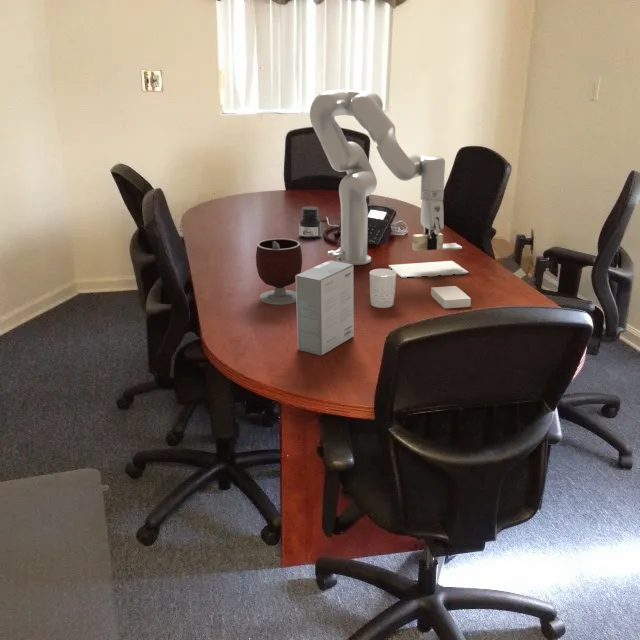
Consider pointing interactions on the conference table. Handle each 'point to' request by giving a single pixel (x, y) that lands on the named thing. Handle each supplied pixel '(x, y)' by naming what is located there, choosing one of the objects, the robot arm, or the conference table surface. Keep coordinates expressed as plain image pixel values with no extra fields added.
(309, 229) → the ink bottle
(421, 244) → the cream block on base
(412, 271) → the mat
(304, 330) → the hard drive box
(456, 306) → the tile
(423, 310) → the conference table surface
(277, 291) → the mate gourd
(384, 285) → the white cup
